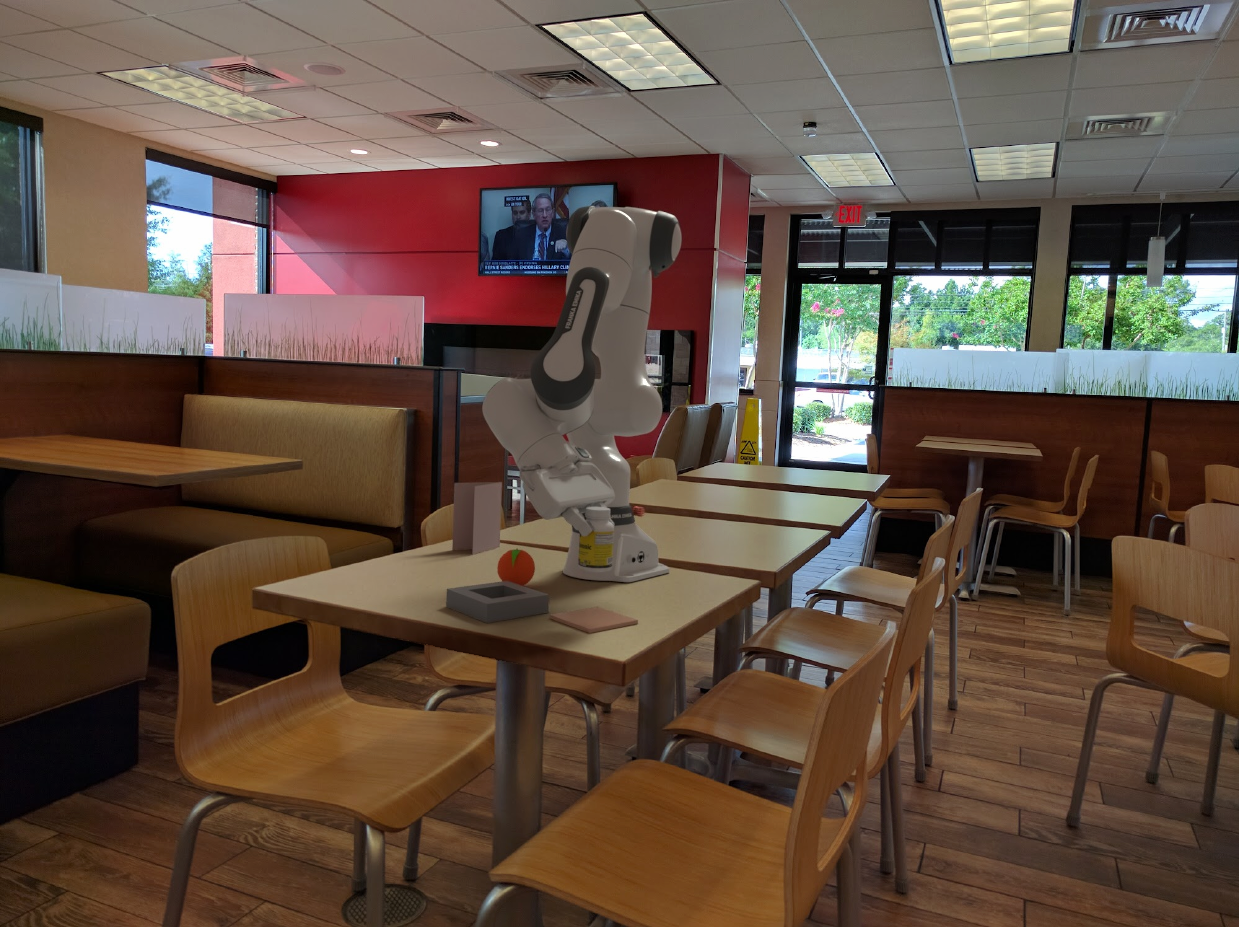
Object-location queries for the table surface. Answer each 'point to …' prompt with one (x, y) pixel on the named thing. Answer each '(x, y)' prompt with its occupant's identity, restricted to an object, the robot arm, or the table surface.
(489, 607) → the pocket holder
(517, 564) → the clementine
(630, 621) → the coaster
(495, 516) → the greeting card
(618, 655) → the table surface
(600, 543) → the supplement bottle
